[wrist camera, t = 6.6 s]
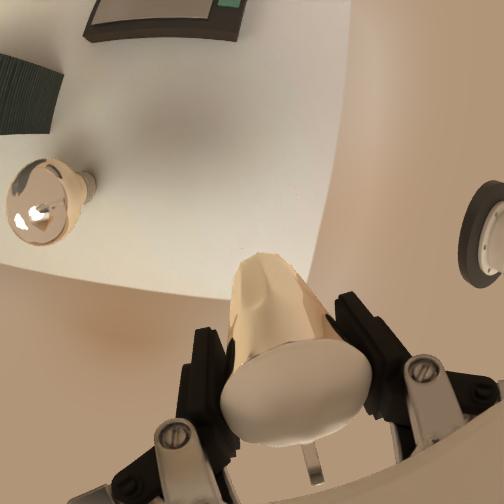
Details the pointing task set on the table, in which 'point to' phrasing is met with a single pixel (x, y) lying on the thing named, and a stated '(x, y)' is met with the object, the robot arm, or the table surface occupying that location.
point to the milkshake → (287, 362)
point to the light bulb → (47, 201)
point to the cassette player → (26, 96)
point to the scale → (165, 19)
